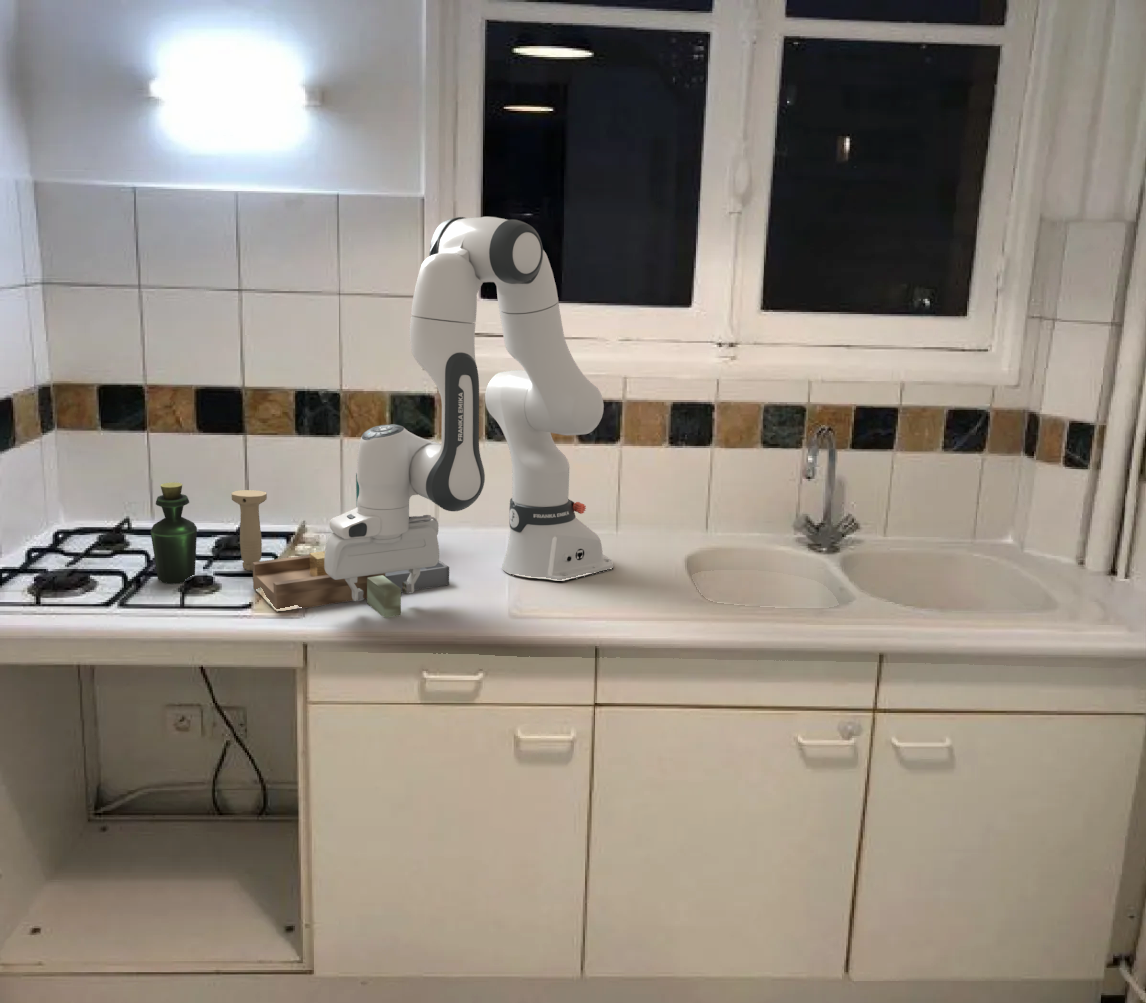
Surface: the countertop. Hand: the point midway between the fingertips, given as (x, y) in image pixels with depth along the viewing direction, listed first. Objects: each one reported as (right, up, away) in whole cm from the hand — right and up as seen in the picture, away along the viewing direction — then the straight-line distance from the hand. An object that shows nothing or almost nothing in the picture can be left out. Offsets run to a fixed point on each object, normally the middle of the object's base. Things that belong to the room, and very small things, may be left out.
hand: (383, 595), depth 190 cm
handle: (-29, +3, +20) cm, 35 cm away
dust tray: (+1, +2, +17) cm, 17 cm away
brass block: (-12, +3, +8) cm, 15 cm away
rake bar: (0, -3, +1) cm, 3 cm away
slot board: (-13, 0, +8) cm, 16 cm away
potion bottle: (-41, +2, +13) cm, 43 cm away
